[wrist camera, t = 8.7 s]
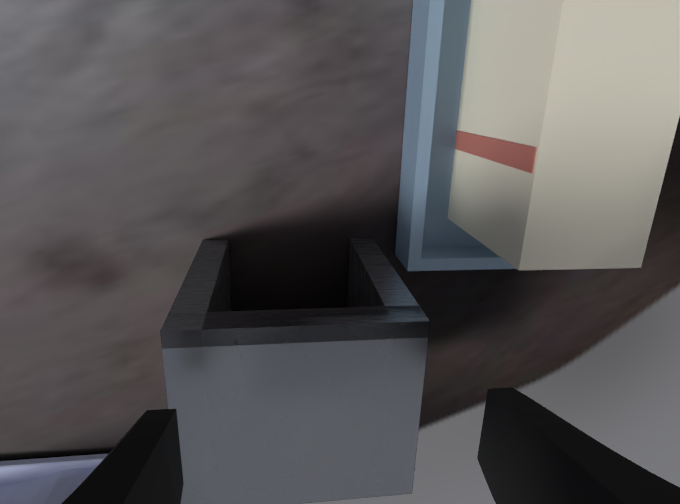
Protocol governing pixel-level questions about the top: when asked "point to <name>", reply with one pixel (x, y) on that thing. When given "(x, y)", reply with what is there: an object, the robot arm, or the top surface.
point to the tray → (435, 144)
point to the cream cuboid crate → (565, 129)
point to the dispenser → (295, 387)
